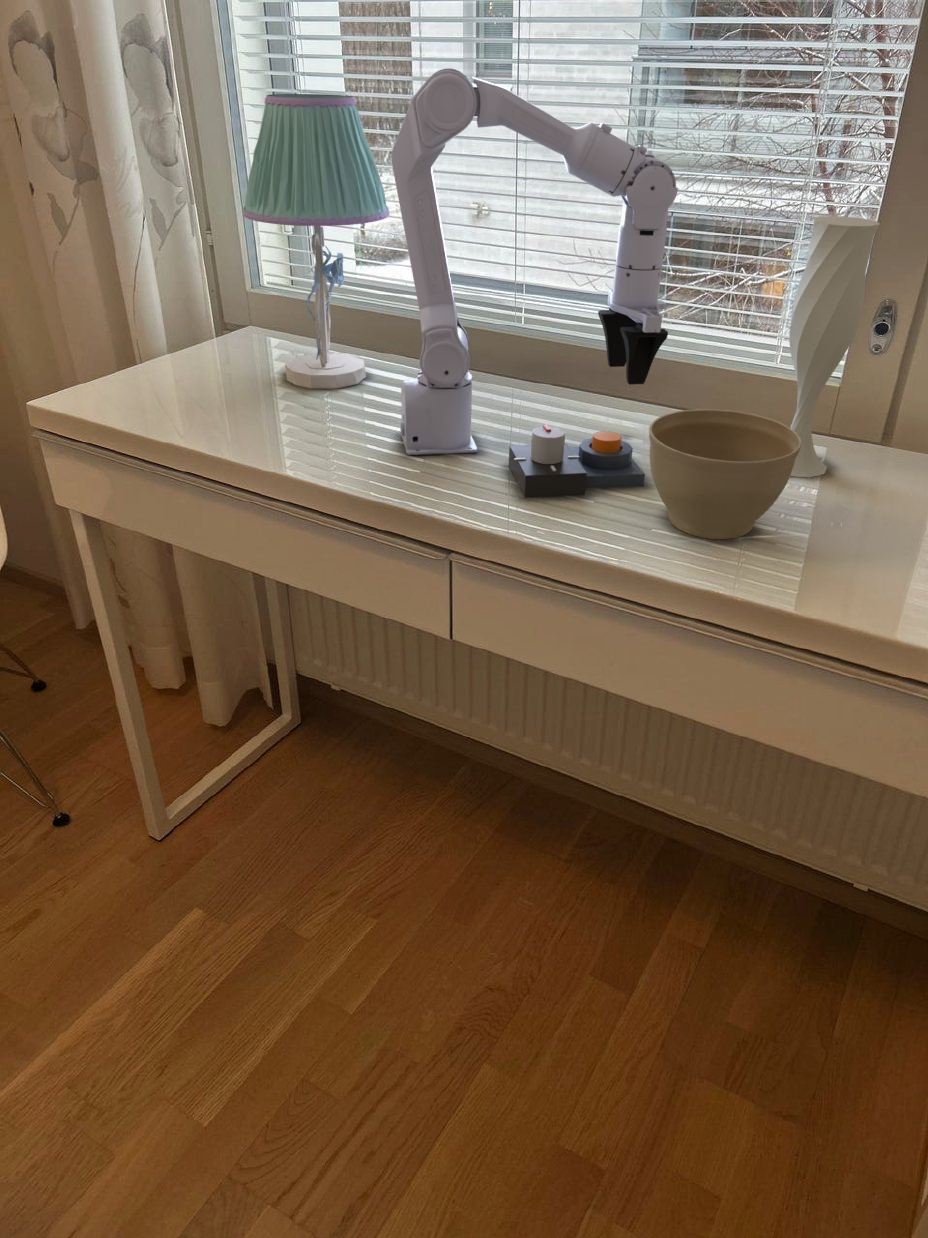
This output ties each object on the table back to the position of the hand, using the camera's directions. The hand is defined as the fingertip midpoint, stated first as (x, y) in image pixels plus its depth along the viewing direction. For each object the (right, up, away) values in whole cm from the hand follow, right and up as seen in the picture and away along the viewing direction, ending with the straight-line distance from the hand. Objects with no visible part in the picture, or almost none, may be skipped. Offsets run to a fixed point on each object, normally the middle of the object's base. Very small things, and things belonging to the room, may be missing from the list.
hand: (625, 374), depth 123 cm
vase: (+22, -12, +1) cm, 25 cm away
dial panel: (-11, -15, -5) cm, 19 cm away
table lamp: (-44, +7, +30) cm, 53 cm away
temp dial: (-11, -12, -7) cm, 18 cm away
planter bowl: (+7, -21, -15) cm, 27 cm away
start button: (-3, -10, -4) cm, 12 cm away
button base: (-3, -13, -2) cm, 14 cm away
